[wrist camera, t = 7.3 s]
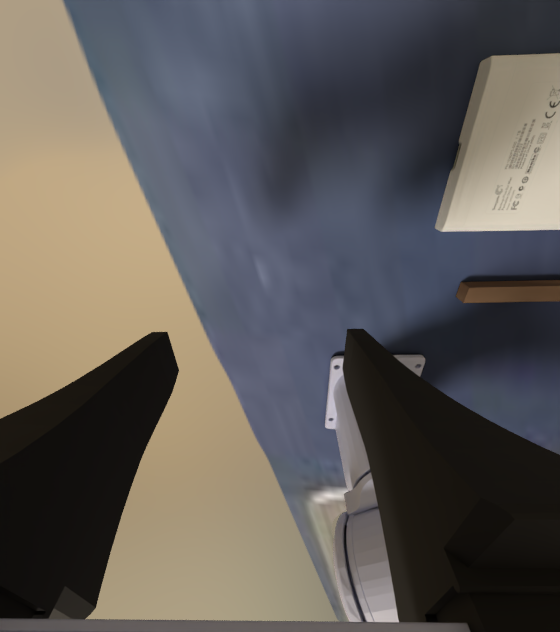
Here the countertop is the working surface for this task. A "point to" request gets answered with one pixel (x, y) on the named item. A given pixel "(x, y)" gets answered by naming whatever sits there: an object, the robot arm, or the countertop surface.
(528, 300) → the dock
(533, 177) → the external hard drive
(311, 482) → the countertop surface
